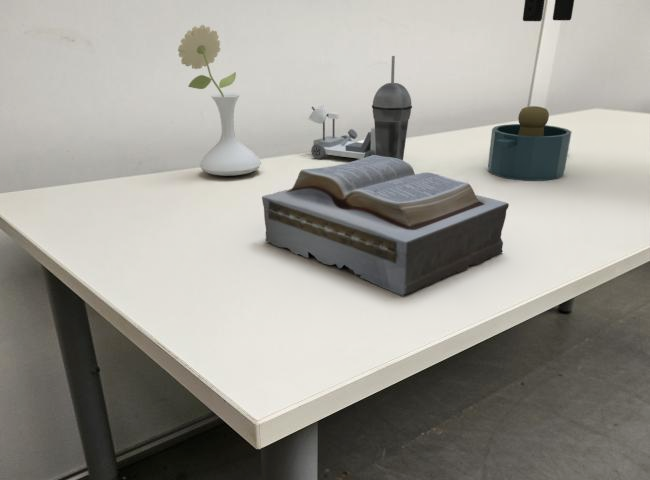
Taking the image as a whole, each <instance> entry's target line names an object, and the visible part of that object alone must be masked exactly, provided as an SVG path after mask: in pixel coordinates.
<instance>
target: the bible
mask: <svg viewBox="0 0 650 480" xmlns="http://www.w3.org/2000/svg"><path fill="white" fill-rule="evenodd" d="M261 200H262V206H263V215H264V216H263V217H264V225H265V242H267V243H270V244H271V245H272V246H273V245H274V246H276V247H279V248H286V249H288V250H290V253H292V254H294V255H296V256H298V255H301V256H302V257H304V258H307V259H309V254H311V256H313V257H314V258H315V259H316V260H317V261H318V262H319V263H322V264H324V265H327V266H333V265H335V266H336V267H337V268H338V269H342V268H343V267H344V266H345V267H346V268H348V269H349V270H351V271H353V273H354V275H358V276H359V278H361V279H363V280H366V281H368V282H370V283H371V284H372V285H376V286H378V287H380V288H383V289H385V290H387V291H390V292H392V293H394V294H396V295H398V296H400V297H402V298H404V297H405V295H406V294H407V295H408V294H411V293H413V292H416V291H417V290H420V289H422V288H423V287H425V286H430V285H433V284H436V283H437V282H438V281H440V280H443V279H445V278H446V277H448V276H450V277H451V276H452V275H455V274H456V273H461V272H465V271H467V270H469V268H468V267H469V266H471V265H473V266H474V265H478V264H482V263H483V262H484V261H486V260H489V259H492V257H494V256H496V255H498V254H500V253H503V252H504V251H503V246H504V241H503V240H502V231H503V228H504V225H505V221H506V217H507V210H508V209H509V206H510V205H509V203H508V202H506V201H502V200H499V199H495V198H490V197H486V196H482V195H479V194H476V193H475V191H474V189H473V187H472V185H471V184H470V183H469V182H464V181H462V180H461V181H460V180H456V179H453V178H449V177H447V176H443V175H439V174H437V173H434V172H420V173H415V171H414V168H413V166H412V165H411V164H410V163H408V162H407V161H405V160H404V159H403V160H400V159H397V158H391V157H382V156H377V155H372V156H369V157H366V158H363V159H359V158H358V159H356V160H353V161H350V162H346V163H345V162H344V163H340V164H335V165H330V166H323V167H316V168H315V167H314V168H304V169H301V170H300V172H299V173H298V175H297V178H296V180H295V182H294V184H293V186H292V188H288V189H284V190H281V191H277V192H273V193H268V194H265V195H263V196H261Z"/></svg>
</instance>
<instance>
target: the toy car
mask: <svg viewBox="0 0 650 480" xmlns="http://www.w3.org/2000/svg"><path fill="white" fill-rule="evenodd" d="M311 109H312V110H313V111H311V113H310V115H308V120H309V121H311V122H313V123H315V124H320V125H321V124H322V137H321V138H318V139H314V140H313V145H312V146H311V148H310V151H311V156H312V157H313V158H314V159H317V160H320V159H323V158H324V157H325V155H330V156H335V157H345V158H353V159H358V160H359V159H363V158H366V157H369V156H372V155H376V143H375V126H374V127H370V131H368V132H367V134H366V136H365V138H364V139H361V140H358V141H352V140H355V139H356V138H358V133H357V132H356V130H354V129H353V128H351V129H349V130H348V131H347V134H348V135H341V136H335V130H336V129H335V121H336V120H339V119H340V113H339V112H328V113H326V109H325V106H324V105H321V106H318V107H316V108H315V107H314V106H311ZM327 118H328V119H331V120H332V135H328V136H326V127H325V126H326V120H327Z"/></svg>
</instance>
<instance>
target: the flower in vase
mask: <svg viewBox="0 0 650 480" xmlns="http://www.w3.org/2000/svg"><path fill="white" fill-rule="evenodd" d="M180 43H181V44H180V45H178V48H177V52H178V57H179V58H181V64H182V65H185V66H186V67H190V66H191V68H192V69H193V70H194V69H195V70H198V69H199V70H200V69H203V67H207V71H208V75H209V76H207V75H204V74H199V75H197V76H196V77H194V78H193V79H192V80H191V81H190V83H189V84H188V88H192V89H197V90H204V89H206V88H207V87H208V86H210V83H211V82H212V83H213V84H214V86H215V88H217V90H218V93H215V94H211V95H210V97H211V98H212V100H213V101H214V102H215V104H216V106H217V109H218V113H219V117H220V125H221V135H220V138H219V140H218V142H217V143H216V144H215V145H214V146H212V148H211V149H210V150H209V151H207V153H206V154H205V155H203V157H202V158H201V160H200V161H199V168H200V169H201V170H202V171H203V172H205V173H208V174H210V175H214V176H223V177H225V176H226V177H228V176H229V177H231V176H232V177H234V176H241V175H246V174H250V173H253V172H254V171H257V170H258V169H259V168H260V167H261V165H262V162H261V159H260V157H259V156H258V155H257V154H256V153H255V152H253V151H252V150H251V149H250V148H248V147H247V146H245V145H244V144H243V143H242V142H241V141H240V140H239V139H238V137H237V135H236V132H235V125H234V123H235V121H234V118H235V117H234V116H235V115H234V114H235V107H236V103H237V101H238V99H239V98H240V94H239V93H223V91H222V90H221V89H223V88H226V87H228V86H231V85H233V83H234V82H235V80H236V77H237V71H234V72H233V73H232V74H230V75H228V76H226V77H223V78H222V79H220V81H219V83H217V82H216V81H215V80H214V77H213V76H212V73H211V69H210V65H209V64H213V63H214V62H215V61H216V59H215V58H217V57H218V55H219V53H220V51H221V47H220V45H221V44H220V43H221V41H220V40H219V34H218V31H217V30H214V29H213V30H211V27H210V26H205V25H204V24H201V25H200V26H199V27H197V26H195V25H194V26H193V27H192V29H191V30H187V32H186V33H185V34H184V37H183V38H181V40H180ZM218 84H219V85H218Z"/></svg>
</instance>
